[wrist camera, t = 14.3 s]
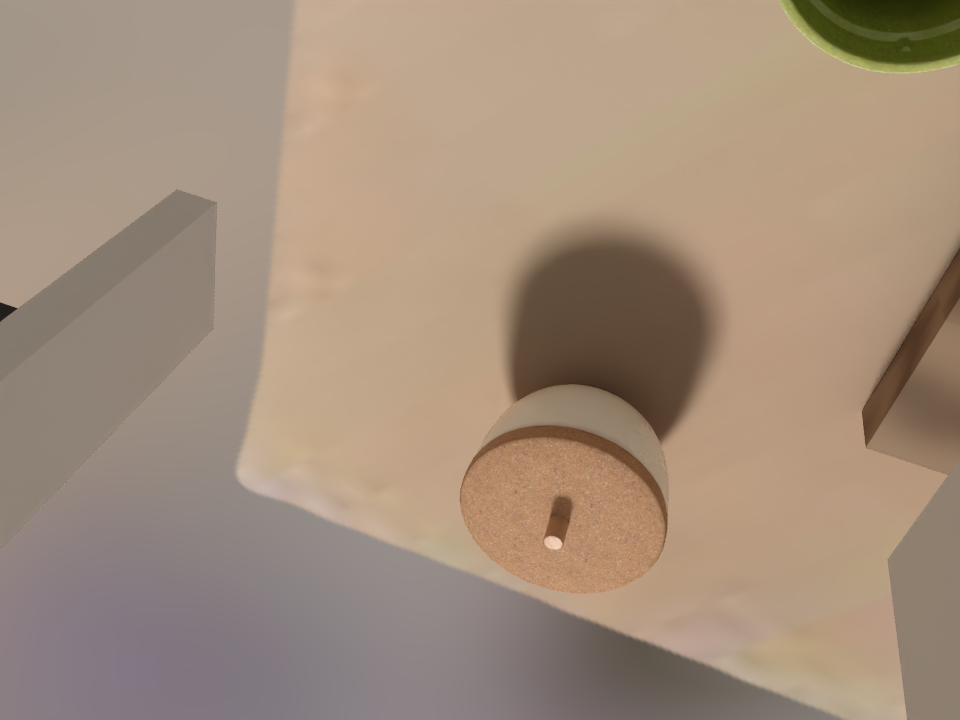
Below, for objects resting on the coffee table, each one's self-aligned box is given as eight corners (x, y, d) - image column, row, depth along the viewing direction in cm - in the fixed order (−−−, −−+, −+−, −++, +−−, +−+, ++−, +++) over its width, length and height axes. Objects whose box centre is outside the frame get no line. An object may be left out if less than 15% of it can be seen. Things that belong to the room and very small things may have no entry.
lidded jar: (592, 316, 49) (557, 422, 41) (720, 449, 51) (709, 571, 44) (460, 409, 55) (408, 516, 47) (580, 524, 57) (549, 643, 50)
